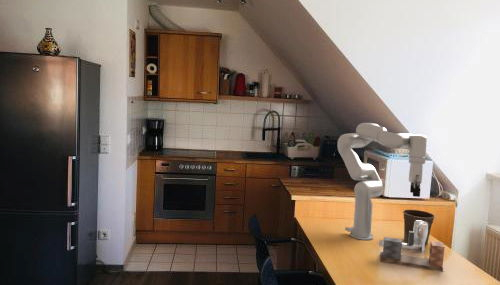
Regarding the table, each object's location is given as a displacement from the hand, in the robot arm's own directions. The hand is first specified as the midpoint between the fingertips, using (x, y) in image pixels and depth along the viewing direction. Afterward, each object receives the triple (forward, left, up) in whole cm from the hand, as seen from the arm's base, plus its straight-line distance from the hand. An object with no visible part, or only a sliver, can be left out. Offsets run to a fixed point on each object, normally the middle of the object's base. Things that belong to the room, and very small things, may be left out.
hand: (414, 194), depth 200 cm
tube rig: (-1, -11, -31) cm, 33 cm away
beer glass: (+5, +9, -31) cm, 33 cm away
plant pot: (+5, +23, -31) cm, 39 cm away
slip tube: (-5, -11, -25) cm, 28 cm away
